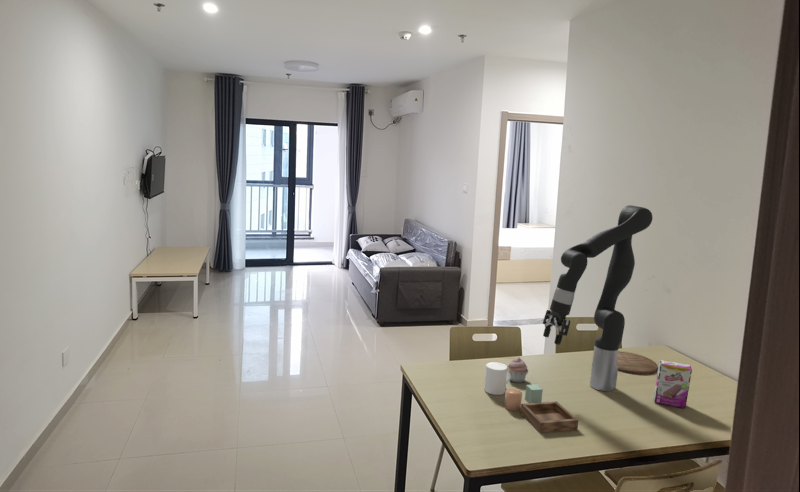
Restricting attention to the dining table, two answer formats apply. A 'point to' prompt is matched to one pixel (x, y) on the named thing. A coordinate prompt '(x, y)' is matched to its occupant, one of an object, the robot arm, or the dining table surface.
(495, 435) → the dining table surface
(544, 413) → the tray
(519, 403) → the peach capsule shape
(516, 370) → the cupcake
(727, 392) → the dining table surface
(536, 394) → the sage block
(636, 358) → the trivet
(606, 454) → the dining table surface
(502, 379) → the mug
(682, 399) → the candy bar box
